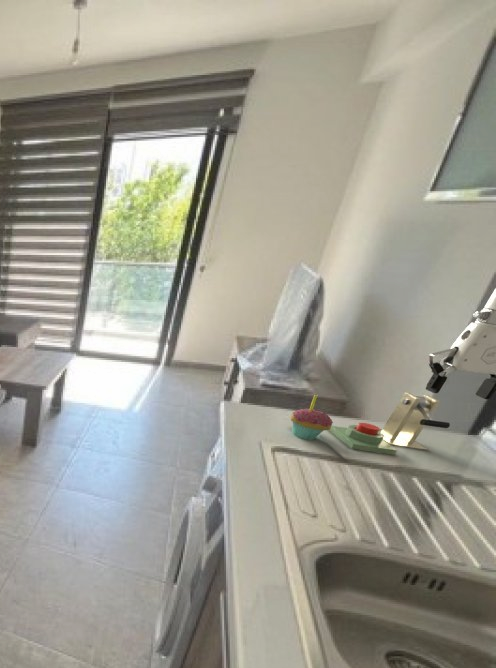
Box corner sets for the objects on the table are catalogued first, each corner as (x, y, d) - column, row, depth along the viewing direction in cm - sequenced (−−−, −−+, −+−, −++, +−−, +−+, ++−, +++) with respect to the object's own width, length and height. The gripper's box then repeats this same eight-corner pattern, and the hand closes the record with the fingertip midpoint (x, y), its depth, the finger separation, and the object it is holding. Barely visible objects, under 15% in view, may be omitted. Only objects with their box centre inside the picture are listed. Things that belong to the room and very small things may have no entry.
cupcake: (294, 440, 123) (316, 397, 117) (276, 426, 130) (297, 385, 124) (330, 445, 122) (355, 401, 116) (311, 430, 129) (333, 388, 123)
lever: (444, 431, 114) (452, 423, 113) (420, 427, 115) (427, 420, 114) (423, 405, 121) (431, 397, 120) (400, 402, 122) (407, 394, 121)
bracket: (424, 453, 120) (456, 406, 114) (387, 448, 122) (416, 401, 116) (399, 436, 129) (428, 392, 122) (365, 431, 130) (391, 387, 124)
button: (379, 437, 119) (383, 430, 118) (360, 434, 119) (364, 428, 119) (370, 430, 122) (373, 424, 121) (352, 427, 123) (355, 421, 122)
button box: (391, 458, 117) (401, 443, 115) (349, 451, 119) (357, 437, 117) (366, 438, 126) (374, 425, 124) (327, 432, 128) (334, 419, 126)
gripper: (468, 318, 101) (422, 394, 109) (571, 327, 97) (516, 405, 105) (442, 312, 108) (401, 384, 116) (538, 320, 104) (488, 394, 112)
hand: (456, 394), depth 110 cm, fingers open, 9 cm apart
